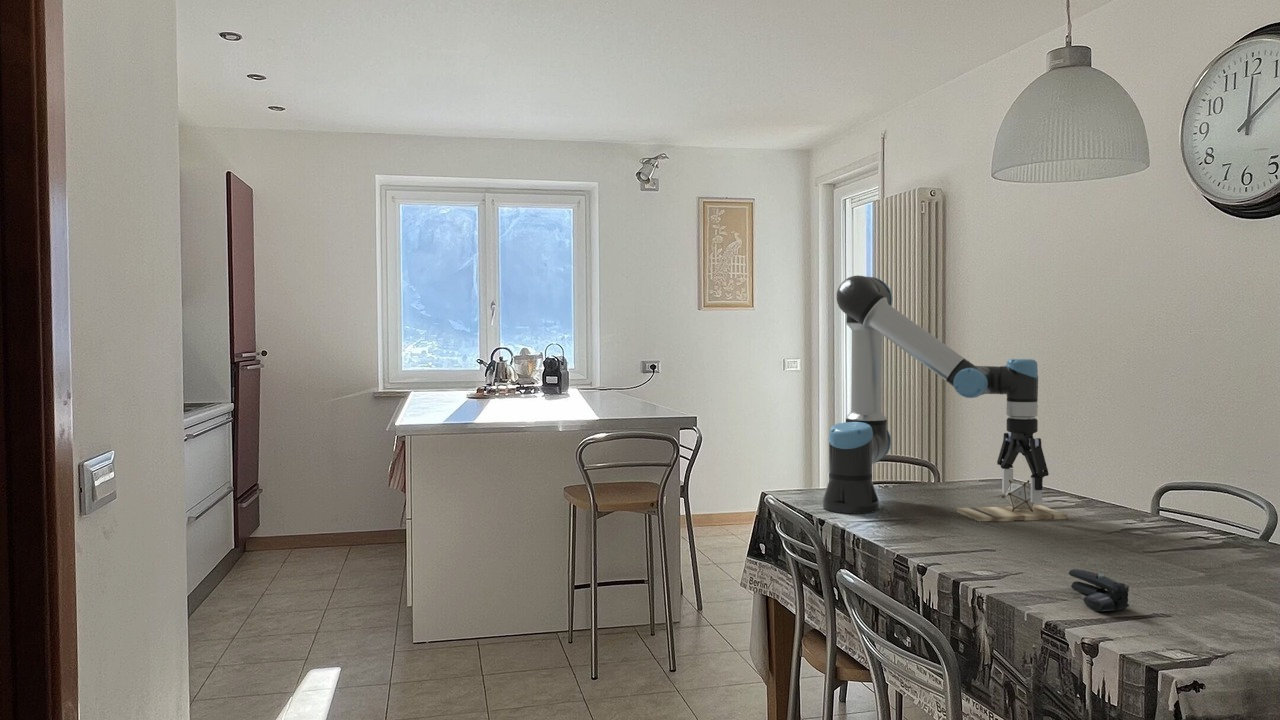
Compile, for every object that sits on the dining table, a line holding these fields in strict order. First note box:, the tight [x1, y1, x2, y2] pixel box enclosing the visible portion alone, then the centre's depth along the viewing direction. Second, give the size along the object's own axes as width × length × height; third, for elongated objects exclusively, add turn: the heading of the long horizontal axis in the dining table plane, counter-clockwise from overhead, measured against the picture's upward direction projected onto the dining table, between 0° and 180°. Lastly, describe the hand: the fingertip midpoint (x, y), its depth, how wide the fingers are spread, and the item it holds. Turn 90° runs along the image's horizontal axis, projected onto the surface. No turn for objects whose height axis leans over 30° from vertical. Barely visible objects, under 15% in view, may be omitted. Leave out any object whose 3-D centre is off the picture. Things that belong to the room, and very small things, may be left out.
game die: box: [1001, 479, 1035, 512], centre depth 230 cm, size 9×8×10 cm
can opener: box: [1068, 568, 1130, 612], centre depth 157 cm, size 18×7×6 cm, turn 176°
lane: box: [956, 504, 1068, 522], centre depth 230 cm, size 24×12×1 cm, turn 97°
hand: (1021, 497), depth 230 cm, fingers open, 13 cm apart
